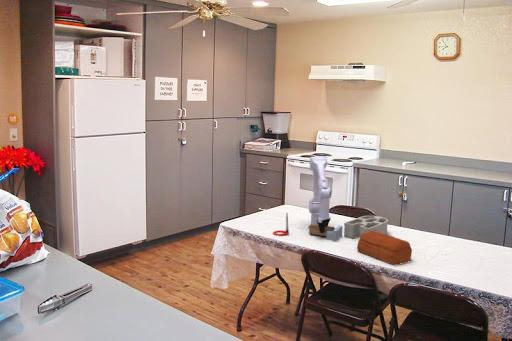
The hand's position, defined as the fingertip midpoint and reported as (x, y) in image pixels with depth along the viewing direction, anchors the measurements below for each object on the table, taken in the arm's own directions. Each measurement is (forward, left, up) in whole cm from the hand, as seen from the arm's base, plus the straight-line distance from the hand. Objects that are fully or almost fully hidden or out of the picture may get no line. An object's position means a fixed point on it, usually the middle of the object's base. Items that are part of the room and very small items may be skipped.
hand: (323, 231), depth 281 cm
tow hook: (+8, -23, -3) cm, 25 cm away
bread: (+16, +38, -3) cm, 42 cm away
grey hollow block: (-16, +22, -3) cm, 28 cm away
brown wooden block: (0, -1, -2) cm, 2 cm away
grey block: (0, +8, -3) cm, 8 cm away
